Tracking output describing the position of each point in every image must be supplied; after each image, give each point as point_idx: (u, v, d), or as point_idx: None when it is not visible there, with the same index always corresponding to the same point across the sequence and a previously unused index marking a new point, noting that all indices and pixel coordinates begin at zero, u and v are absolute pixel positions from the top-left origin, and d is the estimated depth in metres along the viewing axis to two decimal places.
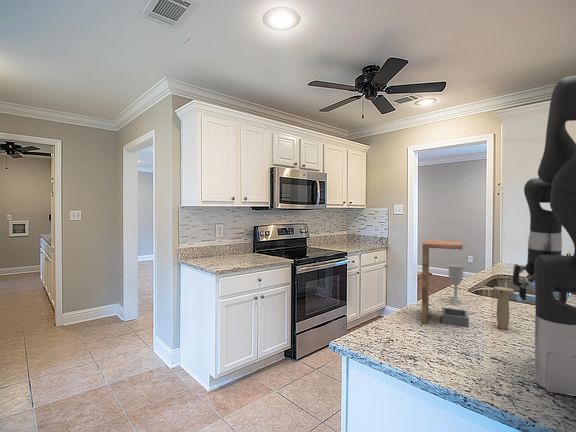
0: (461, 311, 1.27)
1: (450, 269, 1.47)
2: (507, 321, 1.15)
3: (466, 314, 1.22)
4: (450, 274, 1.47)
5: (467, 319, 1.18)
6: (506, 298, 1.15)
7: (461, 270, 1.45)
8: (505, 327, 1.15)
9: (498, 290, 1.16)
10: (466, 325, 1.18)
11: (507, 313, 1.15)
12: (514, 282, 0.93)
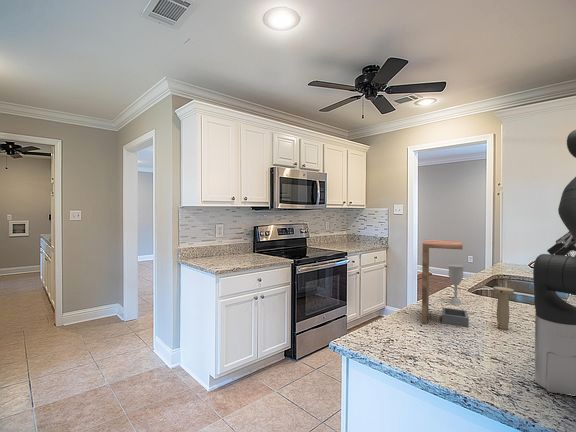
0: (461, 311, 1.27)
1: (450, 269, 1.47)
2: (507, 321, 1.15)
3: (466, 314, 1.22)
4: (450, 274, 1.47)
5: (467, 319, 1.18)
6: (506, 298, 1.15)
7: (461, 270, 1.45)
8: (505, 327, 1.15)
9: (498, 290, 1.16)
10: (466, 325, 1.18)
11: (507, 313, 1.15)
12: (557, 240, 1.15)
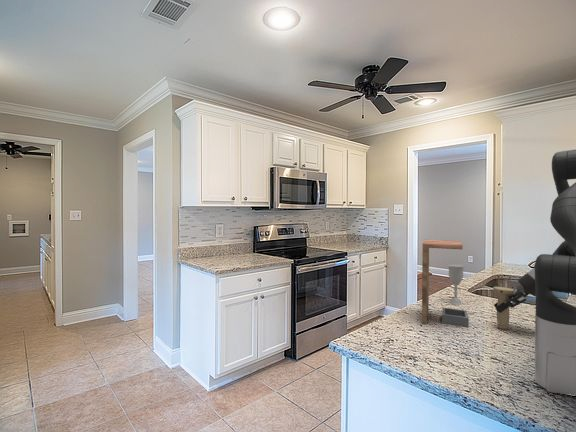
0: (461, 311, 1.27)
1: (450, 269, 1.47)
2: (507, 321, 1.15)
3: (466, 314, 1.22)
4: (450, 274, 1.47)
5: (467, 319, 1.18)
6: (506, 298, 1.15)
7: (461, 270, 1.45)
8: (505, 327, 1.15)
9: (498, 290, 1.16)
10: (466, 325, 1.18)
11: (507, 313, 1.15)
12: None
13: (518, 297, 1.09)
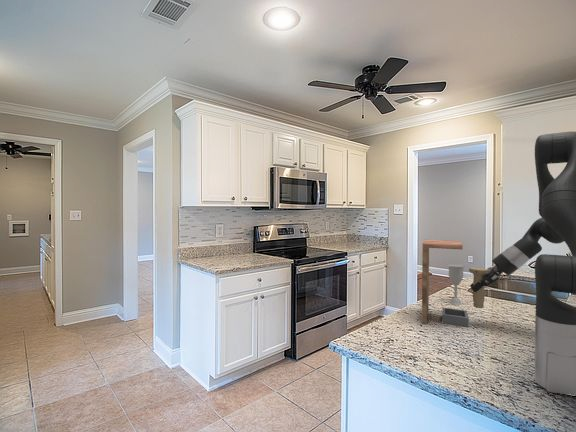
0: (461, 311, 1.27)
1: (450, 269, 1.47)
2: (482, 300, 1.19)
3: (466, 314, 1.22)
4: (450, 274, 1.47)
5: (467, 319, 1.18)
6: (481, 278, 1.19)
7: (461, 270, 1.45)
8: (480, 306, 1.19)
9: (473, 270, 1.19)
10: (466, 325, 1.18)
11: (482, 292, 1.18)
12: None
13: (491, 276, 1.13)
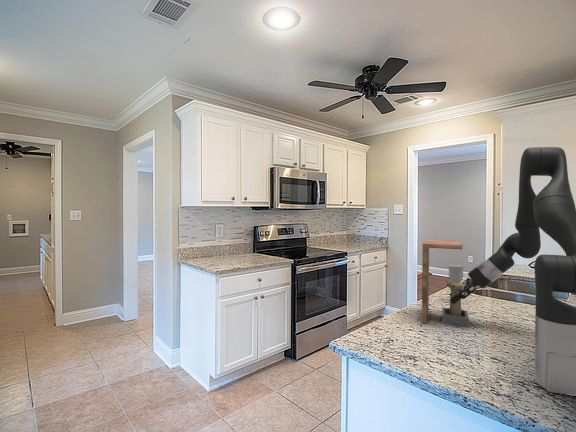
0: (461, 311, 1.27)
1: (450, 269, 1.47)
2: (459, 314, 1.22)
3: (466, 314, 1.22)
4: (450, 274, 1.47)
5: (467, 319, 1.18)
6: None
7: (461, 270, 1.45)
8: None
9: (450, 285, 1.23)
10: (466, 325, 1.18)
11: (459, 307, 1.22)
12: None
13: (469, 287, 1.16)
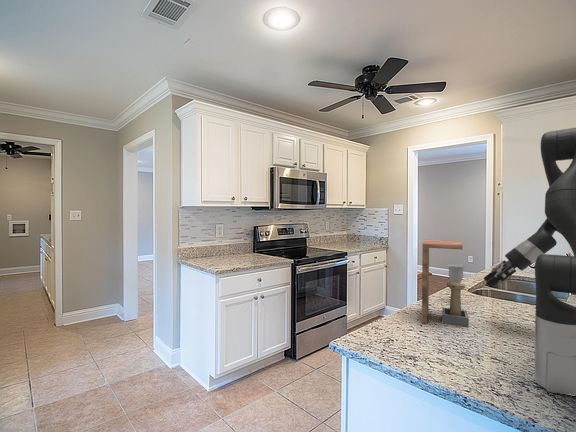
0: (461, 311, 1.27)
1: (450, 269, 1.47)
2: (459, 314, 1.22)
3: (466, 314, 1.22)
4: (450, 274, 1.47)
5: (467, 319, 1.18)
6: (458, 293, 1.22)
7: (461, 270, 1.45)
8: None
9: (450, 285, 1.23)
10: (466, 325, 1.18)
11: (459, 307, 1.22)
12: (493, 268, 1.24)
13: (509, 268, 1.10)
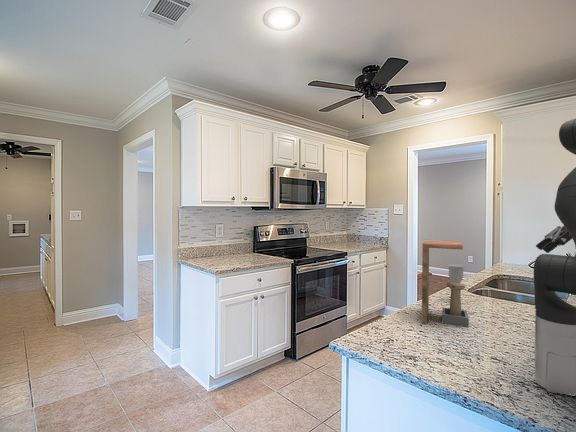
0: (461, 311, 1.27)
1: (450, 269, 1.47)
2: (459, 314, 1.22)
3: (466, 314, 1.22)
4: (450, 274, 1.47)
5: (467, 319, 1.18)
6: (458, 293, 1.22)
7: (461, 270, 1.45)
8: None
9: (450, 285, 1.23)
10: (466, 325, 1.18)
11: (459, 307, 1.22)
12: (546, 235, 1.14)
13: None
